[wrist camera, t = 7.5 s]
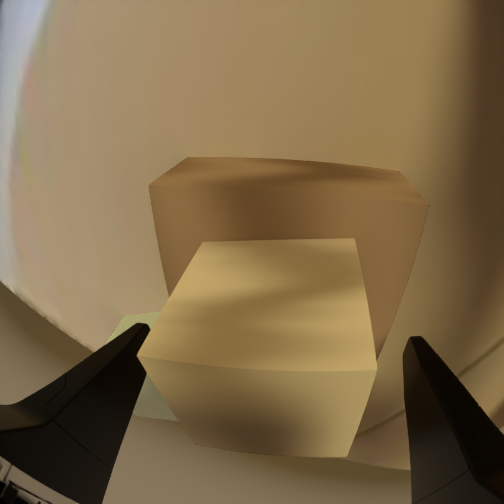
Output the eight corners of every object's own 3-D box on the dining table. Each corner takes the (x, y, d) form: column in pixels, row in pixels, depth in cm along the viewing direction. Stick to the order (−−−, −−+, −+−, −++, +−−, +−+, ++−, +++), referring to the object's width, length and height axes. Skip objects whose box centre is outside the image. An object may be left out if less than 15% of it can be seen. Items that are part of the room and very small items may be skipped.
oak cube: (354, 238, 9) (377, 369, 5) (345, 344, 12) (346, 456, 8) (202, 241, 10) (136, 355, 6) (228, 342, 13) (196, 444, 9)
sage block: (183, 307, 18) (150, 372, 13) (217, 360, 20) (197, 422, 16) (124, 315, 19) (89, 369, 15) (160, 362, 21) (135, 415, 17)
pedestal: (397, 168, 11) (428, 205, 8) (361, 324, 16) (366, 381, 13) (190, 155, 13) (148, 185, 9) (207, 309, 18) (185, 360, 14)
